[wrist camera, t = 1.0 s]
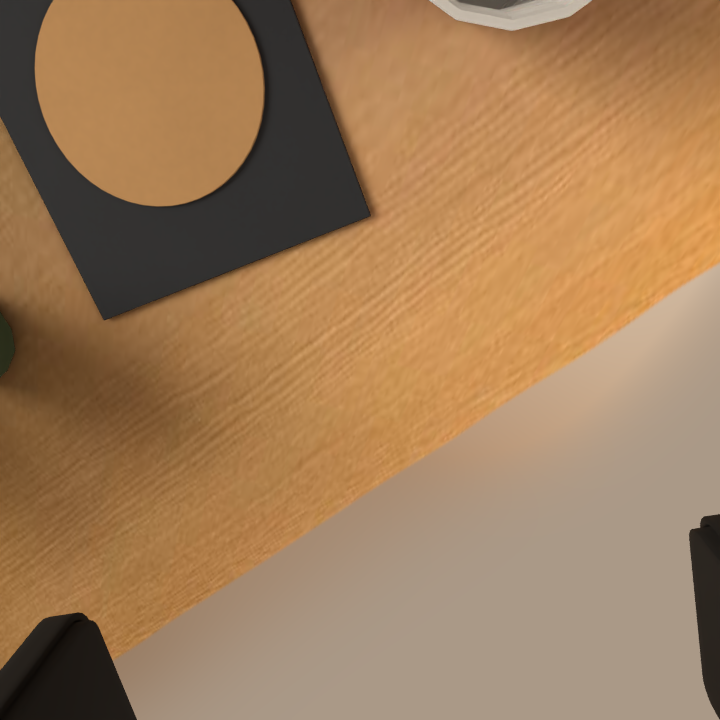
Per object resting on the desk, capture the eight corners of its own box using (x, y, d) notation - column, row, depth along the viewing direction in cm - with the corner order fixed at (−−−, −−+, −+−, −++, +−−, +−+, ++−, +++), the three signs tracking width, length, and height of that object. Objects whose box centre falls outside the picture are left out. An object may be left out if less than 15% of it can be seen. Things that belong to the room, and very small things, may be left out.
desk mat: (-80, -50, 34) (-90, -54, 33) (212, -209, 31) (208, -217, 30) (106, 319, 40) (101, 321, 39) (370, 215, 36) (370, 216, 36)
